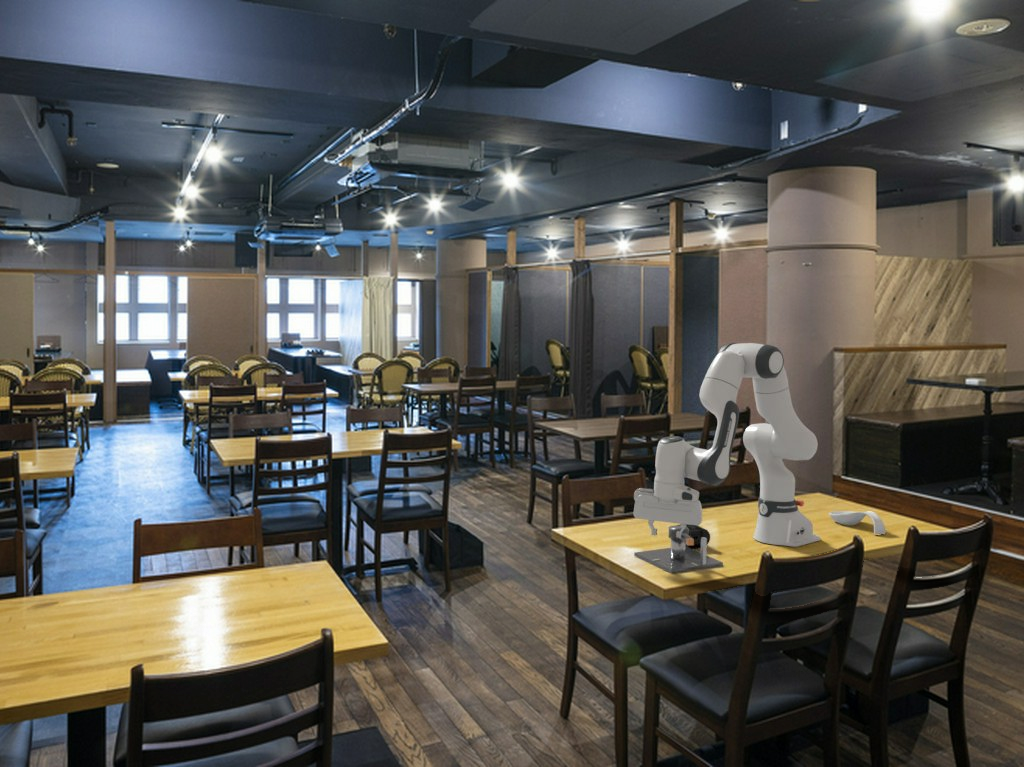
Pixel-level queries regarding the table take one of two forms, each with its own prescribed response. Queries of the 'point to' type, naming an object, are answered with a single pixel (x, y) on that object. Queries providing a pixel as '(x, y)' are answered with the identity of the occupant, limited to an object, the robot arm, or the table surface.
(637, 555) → the mount base
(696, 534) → the end cap
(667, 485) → the robot arm
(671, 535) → the collar
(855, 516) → the spoon rest
